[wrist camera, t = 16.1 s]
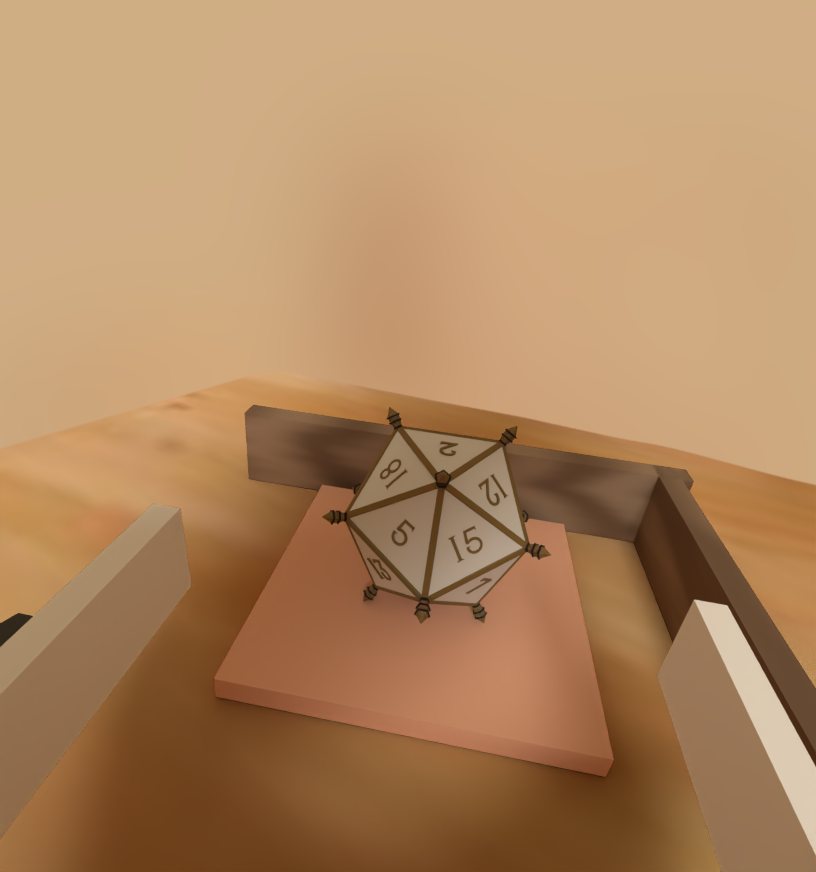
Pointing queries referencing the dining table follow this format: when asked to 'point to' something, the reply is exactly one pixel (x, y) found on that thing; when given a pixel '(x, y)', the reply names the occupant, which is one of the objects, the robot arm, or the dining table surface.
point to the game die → (438, 518)
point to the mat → (425, 652)
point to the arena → (568, 523)
